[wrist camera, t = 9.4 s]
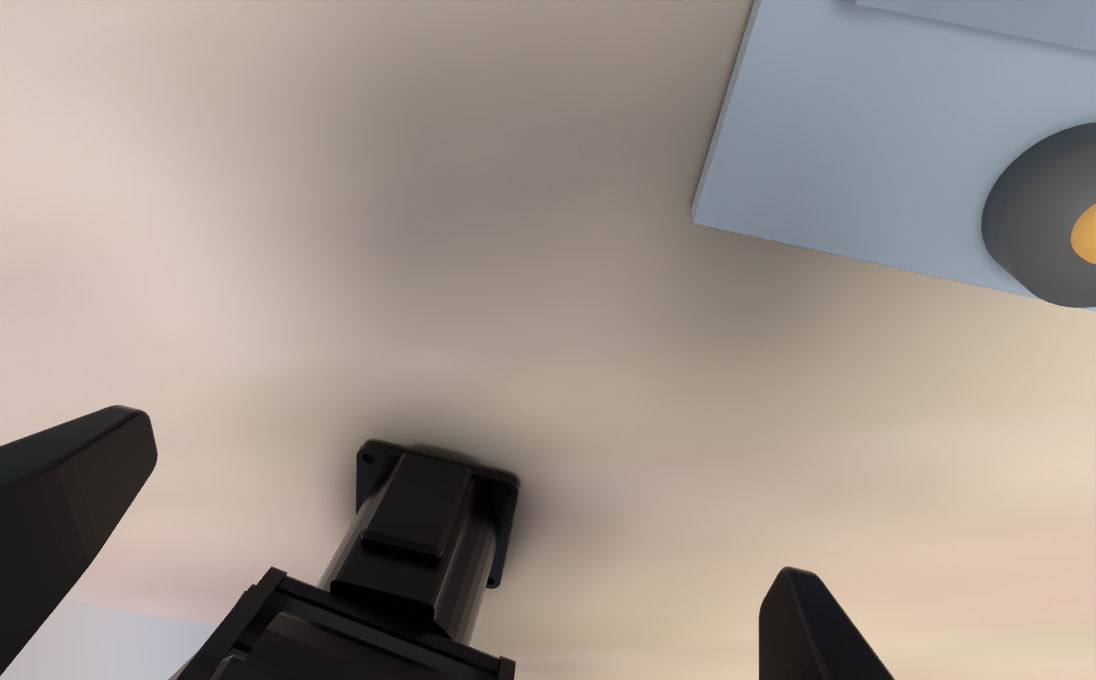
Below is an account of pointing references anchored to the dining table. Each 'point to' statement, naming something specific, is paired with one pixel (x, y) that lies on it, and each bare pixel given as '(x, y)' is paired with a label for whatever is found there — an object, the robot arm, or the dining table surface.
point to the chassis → (917, 139)
